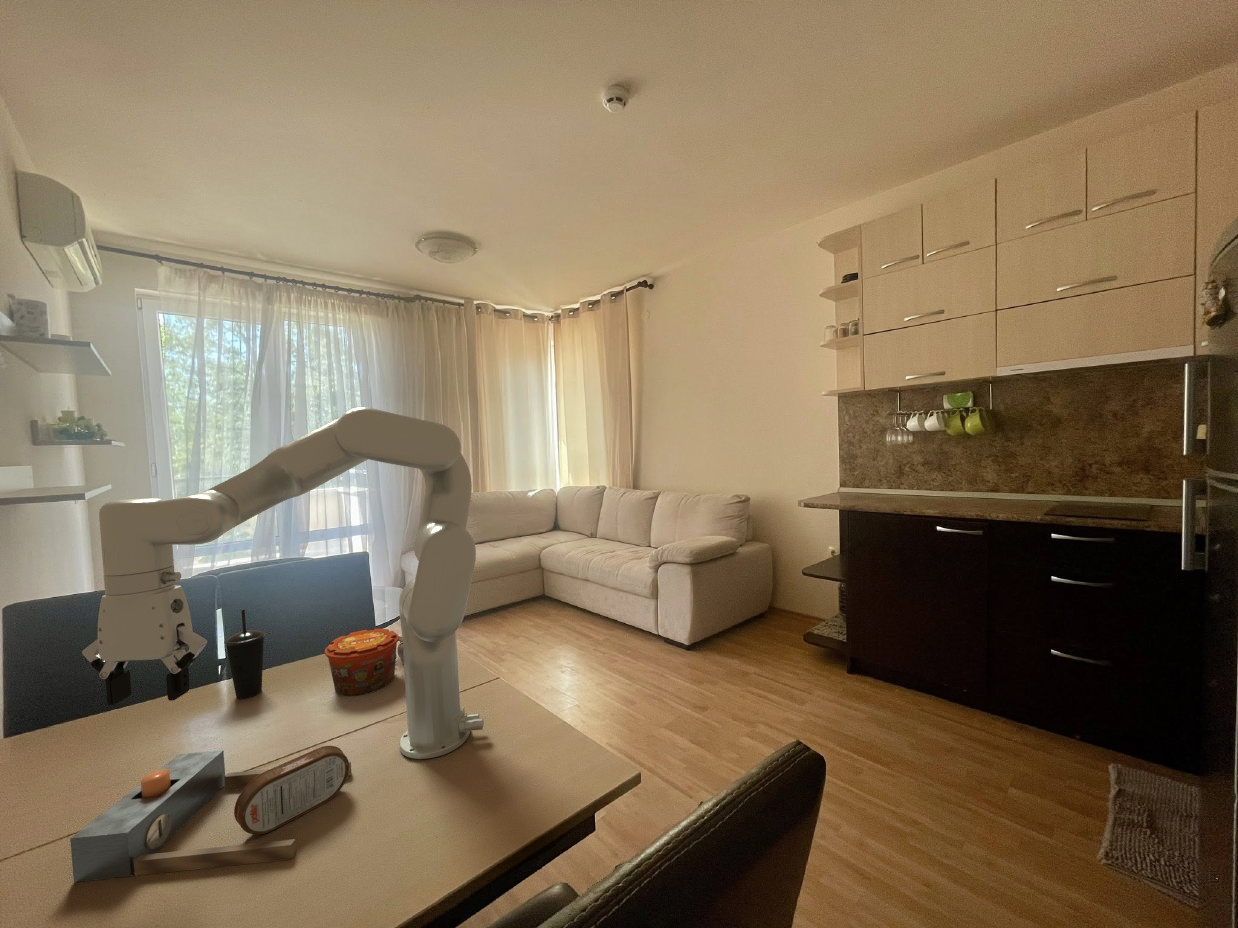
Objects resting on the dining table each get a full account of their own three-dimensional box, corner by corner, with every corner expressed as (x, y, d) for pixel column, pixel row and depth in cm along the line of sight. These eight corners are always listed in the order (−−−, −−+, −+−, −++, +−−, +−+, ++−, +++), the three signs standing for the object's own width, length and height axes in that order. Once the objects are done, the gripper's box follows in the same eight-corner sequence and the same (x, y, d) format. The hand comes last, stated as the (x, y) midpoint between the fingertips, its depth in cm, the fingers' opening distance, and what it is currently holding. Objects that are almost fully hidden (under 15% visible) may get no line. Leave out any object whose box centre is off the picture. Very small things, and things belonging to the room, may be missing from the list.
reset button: (176, 786, 76) (175, 767, 76) (159, 801, 73) (157, 781, 73) (154, 788, 76) (153, 769, 76) (135, 803, 73) (134, 783, 73)
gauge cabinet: (228, 784, 84) (226, 749, 84) (134, 875, 66) (131, 832, 66) (181, 788, 83) (179, 753, 83) (73, 881, 65) (70, 838, 65)
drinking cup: (236, 689, 119) (231, 607, 118) (273, 683, 121) (268, 603, 120) (222, 704, 112) (215, 617, 111) (261, 698, 114) (255, 612, 113)
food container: (336, 707, 108) (333, 659, 108) (320, 683, 120) (317, 640, 120) (411, 682, 119) (408, 638, 119) (389, 662, 131) (386, 622, 130)
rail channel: (351, 772, 86) (350, 761, 86) (291, 858, 68) (291, 844, 68) (229, 784, 84) (228, 772, 84) (134, 875, 66) (133, 861, 66)
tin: (345, 782, 83) (342, 734, 83) (353, 790, 81) (350, 740, 81) (235, 840, 72) (231, 783, 71) (241, 851, 70) (237, 792, 69)
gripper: (221, 572, 78) (228, 681, 78) (101, 578, 76) (110, 690, 77) (183, 585, 70) (192, 706, 71) (50, 592, 69) (60, 716, 70)
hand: (149, 697), depth 74 cm, fingers open, 7 cm apart
